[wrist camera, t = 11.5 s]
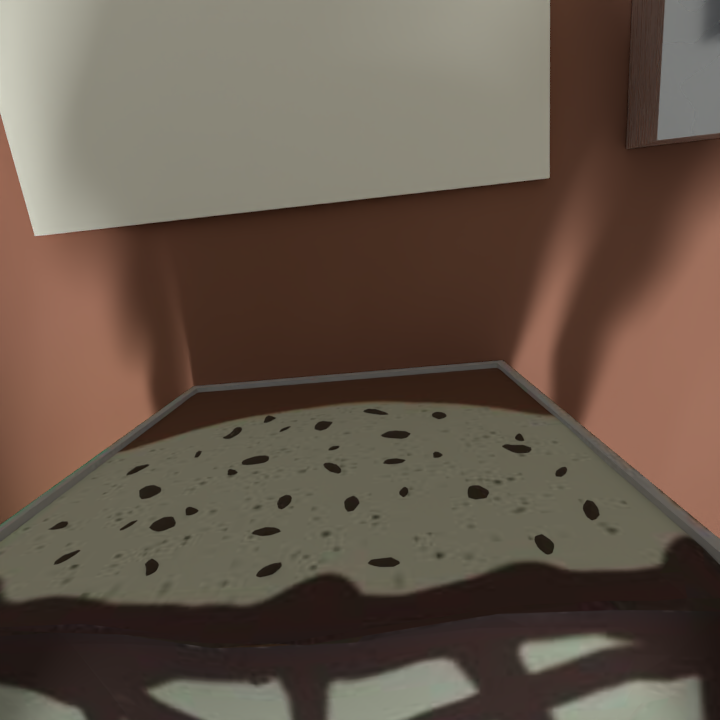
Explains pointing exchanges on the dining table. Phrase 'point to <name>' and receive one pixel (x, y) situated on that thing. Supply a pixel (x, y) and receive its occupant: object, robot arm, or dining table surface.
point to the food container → (359, 564)
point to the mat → (266, 103)
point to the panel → (673, 72)
